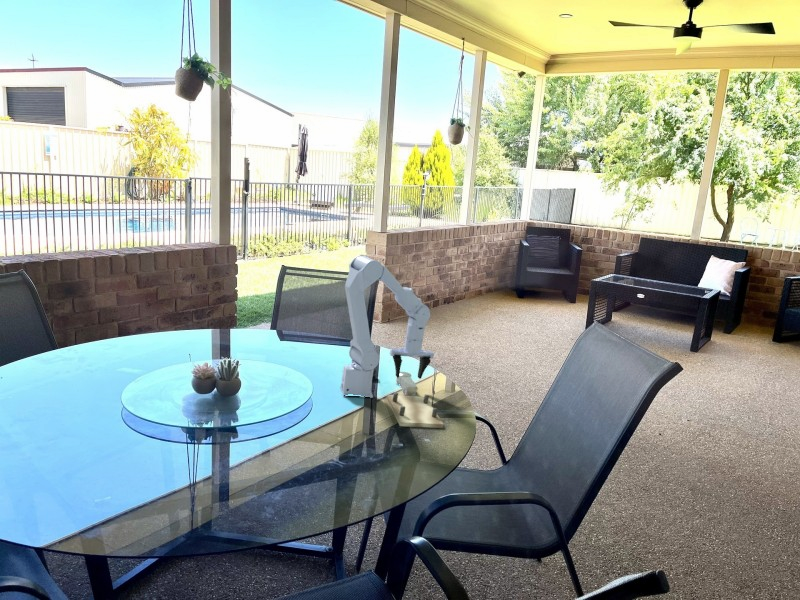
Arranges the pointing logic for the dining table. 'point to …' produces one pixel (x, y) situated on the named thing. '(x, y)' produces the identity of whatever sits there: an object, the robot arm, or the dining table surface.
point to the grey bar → (407, 384)
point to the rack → (414, 411)
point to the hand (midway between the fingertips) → (408, 376)
